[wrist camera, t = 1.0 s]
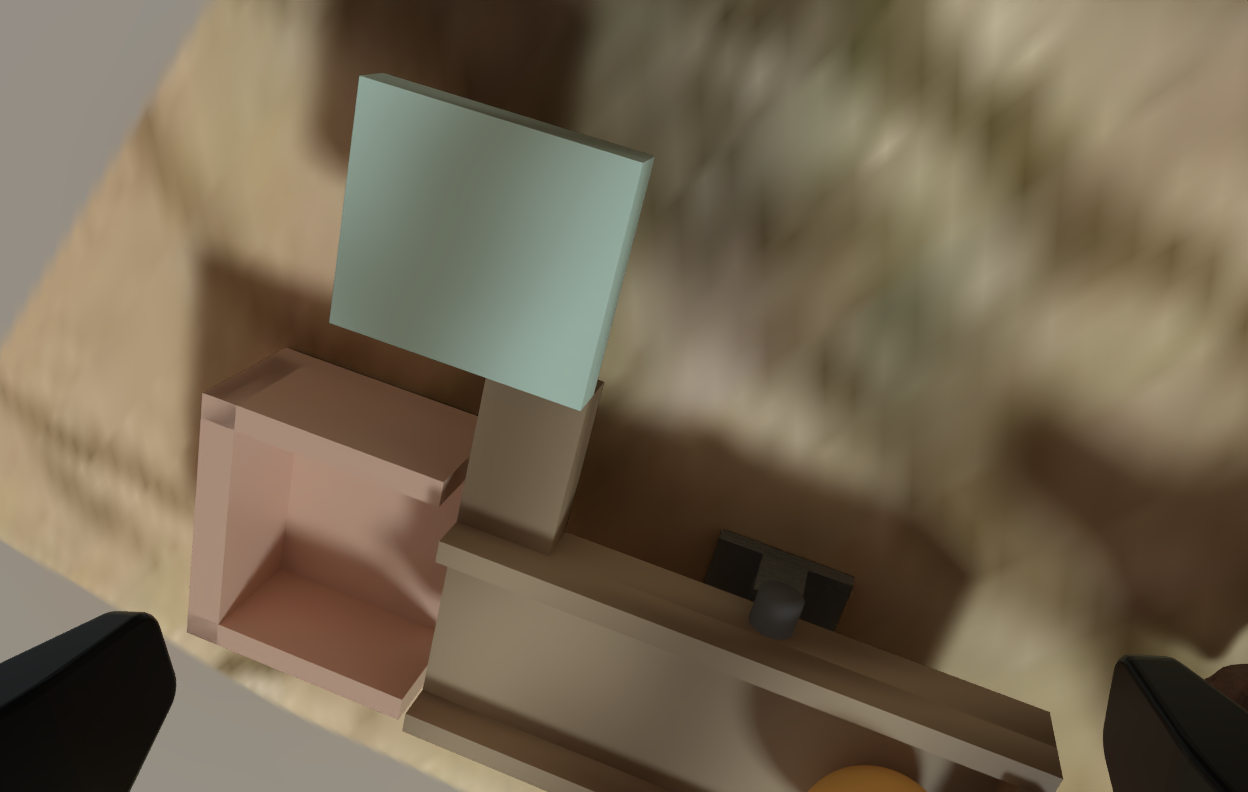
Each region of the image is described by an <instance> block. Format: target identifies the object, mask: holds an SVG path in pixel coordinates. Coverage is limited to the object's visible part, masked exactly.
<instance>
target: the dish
mask: <svg viewBox="0 0 1248 792" xmlns="http://www.w3.org/2000/svg"><path fill="white" fill-rule="evenodd" d="M477 419H478V416H476V415H473V414H470V413H467V412H464V411H462V410H459V409H456V408H453V407H451V406H448V405H445V404H442V403H439V402H437V401H434V400H431V399H428V398H425V397H423V396H420V395H417V394H414V393H411V392H409V391H406V390H403V389H400V388H398V387H395V386H392V385H389V384H386V383H384V382H381V381H378V380H375V379H372V378H370V377H367V376H364V375H361V374H358V373H356V372H353V371H350V370H347V369H345V368H342V367H339V366H336V365H333V364H331V363H328V362H325V361H322V360H319V359H317V358H314V357H311V356H308V355H305V354H303V353H300V352H297V351H294V350H292V349H289V348H284V349H282V350H280V351H279V352H277V353H275V354H273V355H271V356H269V357H267V358H266V359H264V360H262V361H260V362H258V363H256V364H254V365H253V366H251V367H249V368H247V369H245V370H243V371H242V372H240V373H238V374H236V375H234V376H232V377H230V378H229V379H227V380H225V381H223V382H221V383H219V384H217V385H216V386H214V387H212V388H210V389H208V390H206V391H205V392H203V393H202V406H201V421H200V437H199V453H198V468H197V484H196V499H195V515H194V531H193V546H192V562H191V577H190V593H189V609H188V624H187V632H188V633H190V634H192V635H195V636H197V637H200V638H202V639H205V640H207V641H209V642H212V643H214V644H217V645H219V646H221V647H224V648H226V649H229V650H231V651H234V652H236V653H238V654H241V655H243V656H246V657H248V658H250V659H253V660H255V661H258V662H260V663H263V664H265V665H267V666H270V667H272V668H275V669H277V670H279V671H282V672H284V673H287V674H289V675H292V676H294V677H296V678H299V679H301V680H304V681H306V682H308V683H311V684H313V685H316V686H318V687H321V688H323V689H325V690H328V691H330V692H333V693H335V694H337V695H340V696H342V697H345V698H347V699H349V700H352V701H354V702H357V703H359V704H362V705H364V706H366V707H369V708H371V709H374V710H376V711H378V712H381V713H383V714H386V715H388V716H391V717H393V718H395V719H399V718H400V717H401V715H402V714H403V712H404V711H405V710H406V708H407V707H408V705H409V704H410V703H411V701H412V700H413V698H414V697H415V696H416V694H417V693H418V692H419V690H420V689H421V687H422V686H423V685H424V681H425V676H426V671H427V666H428V661H429V656H430V651H431V646H432V641H433V636H434V631H435V626H436V621H437V616H438V612H439V607H440V602H441V597H442V592H443V587H444V582H445V577H446V572H447V566H444V565H442V564H439V563H436V562H435V561H436V556H437V550H438V545H439V541H440V540H441V539H442V538H443V536H444V535H445V534H446V533H447V532H448V531H449V530H450V529H451V527H452V526H453V525H454V524H455V523H456V522H457V518H458V513H459V508H460V503H461V498H462V493H463V488H464V483H465V478H466V473H467V468H468V463H469V458H470V453H471V448H472V443H473V438H474V433H475V429H476V424H477Z"/></svg>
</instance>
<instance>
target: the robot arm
mask: <svg viewBox="0 0 1248 792" xmlns="http://www.w3.org/2000/svg"><path fill="white" fill-rule="evenodd" d="M175 692H176V677H175V673H174V669H173V666H172V663H171V660H170V657H169V654H168V651H167V647H166V644H165V641H164V638H163V635H162V632H161V629H160V626H159V623H158V621H157V620H156V619H155V618H154V617H153V616H152V615H151V614H148V613H145V612H128V611H113V612H108V613H105V614H103V615H101V616H99V617H96V618H94V619H93V620H90V621H88V622H86V623H84V624H82V625H80V626H78V627H75V628H73V629H71V630H69V631H67V632H65V633H63V634H61V635H59V636H56V637H55V638H53V639H50V640H48V641H46V642H44V643H42V644H40V645H38V646H35V647H33V648H31V649H29V650H27V651H25V652H23V653H21V654H19V655H16V656H14V657H12V658H10V659H8V660H6V661H4V662H2V663H0V792H130V790H131V788H132V786H133V784H134V782H135V780H136V778H137V776H138V774H139V772H140V769H141V767H142V765H143V763H144V761H145V759H146V757H147V755H148V753H149V751H150V749H151V747H152V745H153V743H154V741H155V738H156V736H157V734H158V732H159V730H160V728H161V726H162V724H163V722H164V720H165V718H166V716H167V713H168V712H169V710H170V707H171V705H172V703H173V700H174V696H175ZM1103 747H1104V754H1105V759H1106V764H1107V768H1108V772H1109V776H1110V780H1111V784H1112V788H1113V792H1248V711H1246V710H1245V709H1244V708H1242V707H1241V706H1239V705H1238V704H1237V703H1235V702H1234V701H1233V700H1231V699H1230V698H1229V697H1227V696H1226V695H1224V694H1223V693H1222V692H1220V691H1219V690H1218V689H1216V688H1215V687H1213V686H1212V685H1211V684H1209V683H1208V682H1207V681H1205V680H1204V679H1203V678H1201V677H1200V676H1198V675H1197V674H1196V673H1194V672H1193V671H1192V670H1190V669H1189V668H1187V667H1186V666H1185V665H1183V664H1182V663H1181V662H1179V661H1177V660H1176V659H1174V658H1171V657H1167V656H1148V655H1125V656H1123V657H1121V658H1120V659H1119V660H1118V662H1117V664H1116V665H1115V668H1114V672H1113V678H1112V684H1111V689H1110V695H1109V700H1108V706H1107V711H1106V717H1105V723H1104V729H1103Z"/></svg>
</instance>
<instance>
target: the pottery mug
mask: <svg viewBox="0 0 1248 792" xmlns="http://www.w3.org/2000/svg"><path fill="white" fill-rule="evenodd" d="M1205 681H1207V682H1208V683H1209V684H1211V685H1212V686H1213V687H1215V688H1216V689H1218V690H1219V691H1220V692H1222V693H1223V694H1224V695H1226V696H1227V697H1229V698H1230V699H1231V700H1233V701H1234V702H1235V703H1237V704H1238V705H1239V706H1241V707H1242V708H1244V709H1245V710H1246V711H1248V664H1237V665H1230V666H1226V667H1223V668H1221V669H1220V670H1218V671H1217V672H1216V673H1215V674H1213V675H1212V676H1211V677H1209V678H1206V679H1205Z"/></svg>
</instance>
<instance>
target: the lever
mask: <svg viewBox="0 0 1248 792" xmlns="http://www.w3.org/2000/svg"><path fill="white" fill-rule="evenodd" d="M654 158H655V156H653V155H649V154H646V153H643V152H640V151H636V150H633V149H630V148H627V147H623V146H620V145H617V144H614V143H610V142H607V141H604V140H601V139H597V138H594V137H591V136H588V135H584V134H581V133H578V132H574V131H571V130H568V129H565V128H561V127H558V126H555V125H552V124H548V123H545V122H542V121H539V120H535V119H532V118H529V117H526V116H522V115H519V114H516V113H513V112H509V111H506V110H503V109H499V108H496V107H493V106H490V105H486V104H483V103H480V102H477V101H473V100H470V99H467V98H464V97H460V96H457V95H454V94H451V93H447V92H444V91H441V90H437V89H434V88H431V87H428V86H424V85H421V84H418V83H415V82H411V81H408V80H405V79H402V78H398V77H395V76H392V75H389V74H385V73H377V74H368V75H360V76H359V83H358V91H357V99H356V107H355V116H354V124H353V132H352V140H351V148H350V156H349V165H348V173H347V181H346V189H345V197H344V205H343V214H342V222H341V230H340V238H339V246H338V255H337V263H336V271H335V279H334V287H333V295H332V304H331V312H330V320H329V323H331V324H334V325H337V326H340V327H343V328H345V329H348V330H351V331H354V332H357V333H360V334H362V335H365V336H368V337H371V338H374V339H377V340H379V341H382V342H385V343H388V344H391V345H394V346H397V347H399V348H402V349H405V350H408V351H411V352H414V353H416V354H419V355H422V356H425V357H428V358H431V359H433V360H436V361H439V362H442V363H445V364H448V365H451V366H453V367H456V368H459V369H462V370H465V371H468V372H470V373H473V374H476V375H479V376H482V377H485V378H486V379H485V384H484V389H483V394H482V399H481V404H480V409H479V414H478V419H477V424H476V429H475V433H474V438H473V443H472V448H471V453H470V458H469V463H468V468H467V473H466V478H465V483H464V488H463V493H462V498H461V503H460V508H459V513H458V518H457V522H456V523H455V524H454V525H453V526H452V527H451V529H450V530H449V531H448V532H447V533H446V534H445V535H444V536H443V538H442V539H441V540H440V541H439V545H438V550H437V556H436V561H435V562H436V563H439V564H442V565H444V566H447V572H446V577H445V582H444V587H443V592H442V597H441V602H440V607H439V612H438V616H437V621H436V626H435V631H434V636H433V641H432V646H431V651H430V656H429V661H428V666H427V671H426V676H425V681H424V686H423V690H422V692H421V693H420V694H419V696H418V697H417V699H416V700H415V701H414V703H413V704H412V706H411V707H410V708H409V710H408V711H407V713H406V715H405V720H404V725H403V730H402V731H403V732H406V733H408V734H411V735H413V736H415V737H418V738H420V739H423V740H425V741H427V742H430V743H432V744H435V745H437V746H439V747H442V748H444V749H447V750H449V751H451V752H454V753H456V754H459V755H461V756H463V757H466V758H468V759H471V760H473V761H476V762H478V763H480V764H483V765H485V766H488V767H490V768H492V769H495V770H497V771H500V772H502V773H504V774H507V775H509V776H512V777H514V778H516V779H519V780H521V781H524V782H526V783H528V784H531V785H533V786H536V787H538V788H540V789H543V790H545V791H548V792H808V791H809V789H810V788H811V787H812V786H813V785H814V784H816V783H817V782H818V781H819V780H820V779H822V778H823V777H825V776H826V775H828V774H830V773H832V772H834V771H836V770H839V769H842V768H845V767H849V766H856V765H872V766H879V767H885V768H888V769H891V770H894V771H897V772H899V773H901V774H903V775H905V776H907V777H909V778H910V779H912V780H913V781H915V782H916V783H918V784H919V785H920V786H921V787H922V788H924V789H925V790H926V791H927V792H1056V790H1057V788H1058V787H1059V785H1060V783H1061V782H1062V780H1063V776H1062V771H1061V766H1060V761H1059V756H1058V751H1057V746H1056V741H1055V736H1054V731H1053V726H1052V721H1051V716H1050V712H1048V711H1045V710H1043V709H1040V708H1037V707H1034V706H1032V705H1029V704H1026V703H1024V702H1021V701H1018V700H1016V699H1013V698H1010V697H1008V696H1005V695H1002V694H1000V693H997V692H994V691H991V690H989V689H986V688H983V687H981V686H978V685H975V684H973V683H970V682H967V681H965V680H962V679H959V678H957V677H954V676H951V675H948V674H946V673H943V672H940V671H938V670H935V669H932V668H930V667H927V666H924V665H922V664H919V663H916V662H914V661H911V660H908V659H905V658H903V657H900V656H897V655H895V654H892V653H889V652H887V651H884V650H881V649H879V648H876V647H873V646H871V645H868V644H865V643H863V642H860V641H857V640H854V639H852V638H849V637H846V636H844V635H841V634H838V633H836V632H833V631H830V630H828V629H825V628H822V627H820V626H817V625H814V624H811V623H809V622H806V621H803V620H801V619H799V617H800V614H801V612H802V609H803V607H804V604H805V601H804V598H803V596H802V595H801V593H800V592H799V591H798V590H796V589H795V588H794V587H792V586H790V585H788V584H786V583H783V582H780V581H766V582H763V583H762V584H761V585H760V587H759V590H758V593H757V595H756V598H755V601H754V602H752V601H750V600H747V599H744V598H742V597H739V596H736V595H734V594H731V593H728V592H725V591H723V590H720V589H717V588H715V587H712V586H709V585H707V584H704V583H701V582H699V581H696V580H693V579H691V578H688V577H685V576H683V575H680V574H677V573H674V572H672V571H669V570H666V569H664V568H661V567H658V566H656V565H653V564H650V563H648V562H645V561H642V560H640V559H637V558H634V557H631V556H629V555H626V554H623V553H621V552H618V551H615V550H613V549H610V548H607V547H605V546H602V545H599V544H597V543H594V542H591V541H588V540H586V539H583V538H580V537H578V536H575V535H572V534H570V533H567V532H565V531H566V527H567V523H568V519H569V515H570V512H571V508H572V504H573V500H574V496H575V492H576V489H577V485H578V481H579V477H580V473H581V469H582V466H583V462H584V458H585V454H586V450H587V446H588V443H589V439H590V435H591V431H592V427H593V423H594V420H595V416H596V412H597V408H598V404H599V400H600V397H601V393H602V389H603V385H604V382H603V381H600V380H598V376H599V372H600V368H601V364H602V360H603V357H604V353H605V349H606V345H607V341H608V337H609V333H610V329H611V325H612V322H613V318H614V314H615V310H616V306H617V302H618V298H619V294H620V290H621V286H622V283H623V279H624V275H625V271H626V267H627V263H628V259H629V255H630V251H631V248H632V244H633V240H634V236H635V232H636V228H637V224H638V220H639V216H640V213H641V209H642V205H643V201H644V197H645V193H646V189H647V185H648V181H649V178H650V174H651V170H652V166H653V162H654Z"/></svg>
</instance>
